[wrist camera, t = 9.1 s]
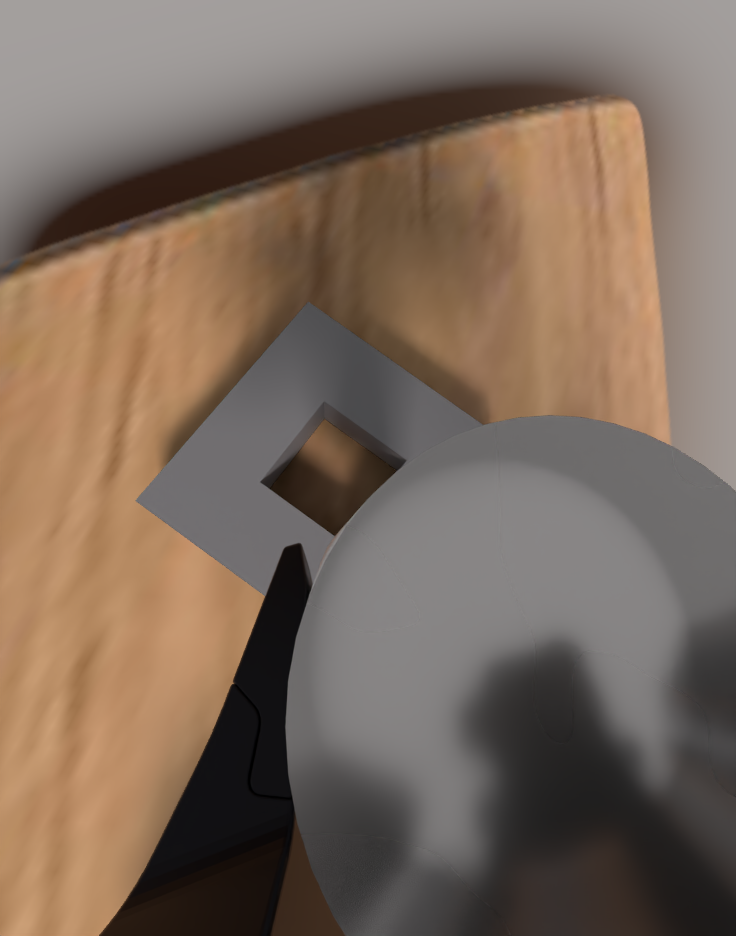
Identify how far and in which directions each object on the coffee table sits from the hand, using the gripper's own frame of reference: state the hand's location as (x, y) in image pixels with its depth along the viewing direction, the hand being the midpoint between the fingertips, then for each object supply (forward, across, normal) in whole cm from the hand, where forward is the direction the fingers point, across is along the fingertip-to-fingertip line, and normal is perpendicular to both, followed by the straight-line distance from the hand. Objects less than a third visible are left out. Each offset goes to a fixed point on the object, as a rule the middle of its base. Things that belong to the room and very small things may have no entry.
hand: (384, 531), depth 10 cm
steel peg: (+4, 0, +6) cm, 7 cm away
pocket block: (+12, 0, +7) cm, 14 cm away
